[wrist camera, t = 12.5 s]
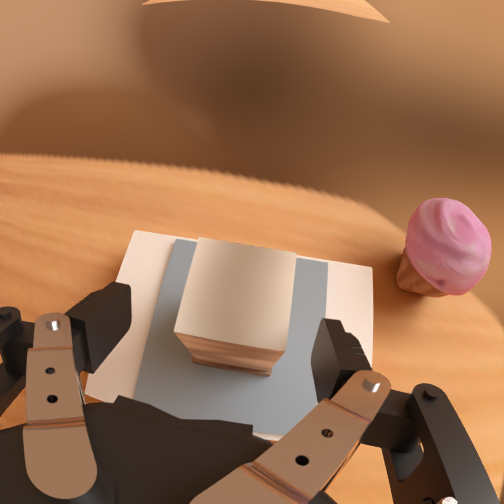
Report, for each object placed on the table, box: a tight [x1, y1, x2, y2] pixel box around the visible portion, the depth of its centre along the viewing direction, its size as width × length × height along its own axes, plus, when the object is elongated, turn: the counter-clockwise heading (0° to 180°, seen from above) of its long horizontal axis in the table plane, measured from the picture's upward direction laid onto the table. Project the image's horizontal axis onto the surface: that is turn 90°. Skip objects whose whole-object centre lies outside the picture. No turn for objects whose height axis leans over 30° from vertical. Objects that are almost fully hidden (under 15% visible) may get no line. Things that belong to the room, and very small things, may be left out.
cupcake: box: [396, 198, 491, 297], centre depth 23 cm, size 9×9×10 cm
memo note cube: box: [174, 237, 297, 377], centre depth 16 cm, size 5×5×8 cm
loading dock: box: [84, 230, 373, 444], centre depth 22 cm, size 20×14×4 cm
